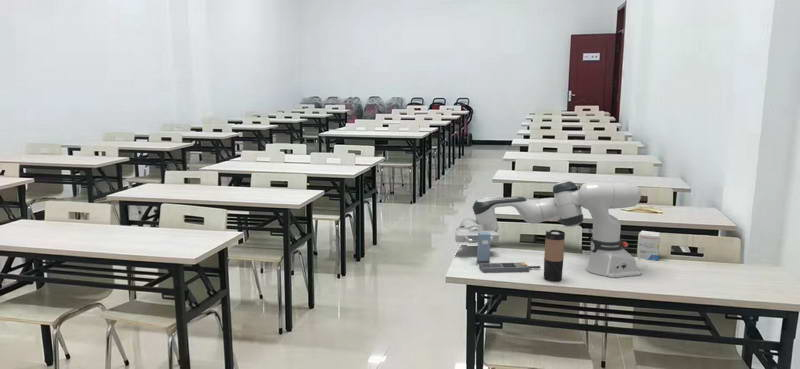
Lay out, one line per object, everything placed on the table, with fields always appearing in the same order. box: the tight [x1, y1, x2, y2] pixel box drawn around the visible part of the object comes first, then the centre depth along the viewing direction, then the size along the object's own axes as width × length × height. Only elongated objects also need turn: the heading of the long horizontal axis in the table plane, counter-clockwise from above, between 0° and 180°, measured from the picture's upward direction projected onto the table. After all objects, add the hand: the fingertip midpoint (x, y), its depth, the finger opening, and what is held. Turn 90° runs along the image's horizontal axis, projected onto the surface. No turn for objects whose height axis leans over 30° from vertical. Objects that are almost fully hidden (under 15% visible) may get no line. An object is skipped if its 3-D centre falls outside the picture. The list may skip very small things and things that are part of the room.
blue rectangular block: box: [476, 232, 491, 265], centre depth 261 cm, size 5×5×14 cm
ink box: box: [638, 230, 661, 261], centre depth 274 cm, size 9×8×12 cm
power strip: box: [478, 261, 541, 274], centre depth 255 cm, size 26×7×2 cm, turn 96°
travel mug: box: [543, 229, 566, 283], centre depth 242 cm, size 8×8×20 cm
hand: (480, 241), depth 265 cm, fingers open, 8 cm apart
